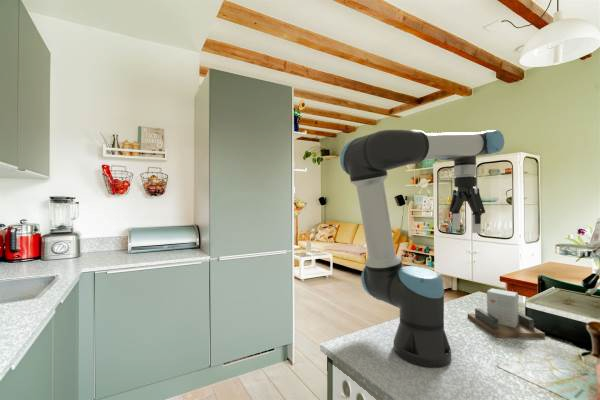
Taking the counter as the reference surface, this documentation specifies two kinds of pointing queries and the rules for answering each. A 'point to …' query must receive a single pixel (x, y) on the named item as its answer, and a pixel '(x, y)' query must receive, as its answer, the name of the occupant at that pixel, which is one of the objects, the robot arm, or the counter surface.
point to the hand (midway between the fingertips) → (465, 231)
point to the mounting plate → (501, 331)
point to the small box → (503, 306)
